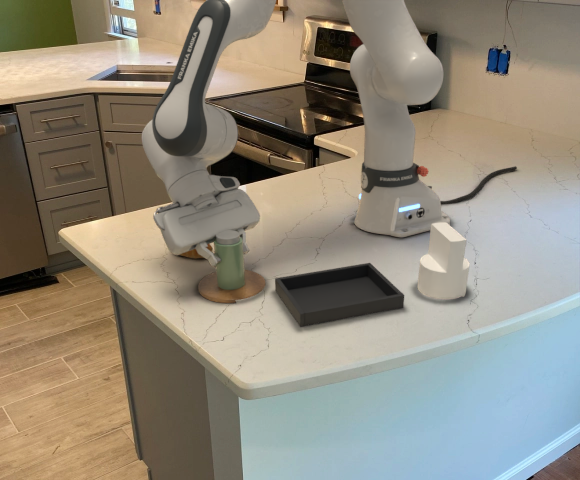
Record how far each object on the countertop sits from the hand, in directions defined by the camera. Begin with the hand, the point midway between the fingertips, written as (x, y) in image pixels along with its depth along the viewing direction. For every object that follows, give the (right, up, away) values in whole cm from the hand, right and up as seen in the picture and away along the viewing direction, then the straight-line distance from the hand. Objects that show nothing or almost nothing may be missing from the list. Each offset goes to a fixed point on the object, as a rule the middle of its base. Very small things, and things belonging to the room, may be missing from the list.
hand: (231, 258), depth 118 cm
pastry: (-10, +4, +19) cm, 21 cm away
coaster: (0, -5, +4) cm, 6 cm away
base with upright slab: (+40, -6, +1) cm, 40 cm away
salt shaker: (0, -4, +3) cm, 5 cm away
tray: (+20, -8, -2) cm, 22 cm away
